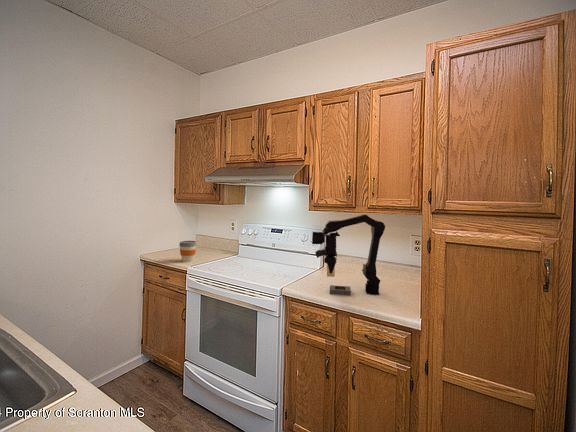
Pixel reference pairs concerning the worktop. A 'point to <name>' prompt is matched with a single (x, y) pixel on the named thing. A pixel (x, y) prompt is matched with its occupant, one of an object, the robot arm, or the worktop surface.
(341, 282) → the worktop surface
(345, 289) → the steel rail
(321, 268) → the worktop surface
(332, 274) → the brass block
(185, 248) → the reusable coffee cup
